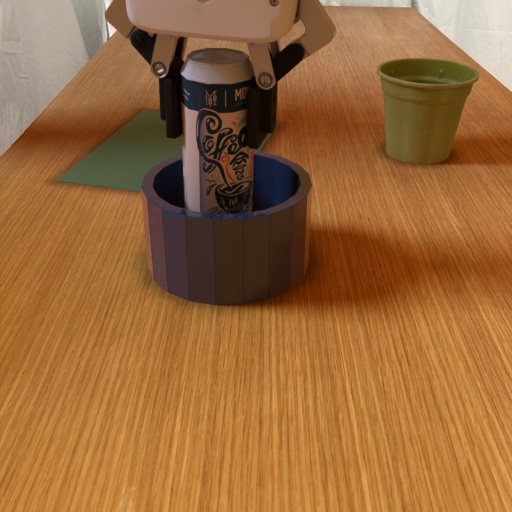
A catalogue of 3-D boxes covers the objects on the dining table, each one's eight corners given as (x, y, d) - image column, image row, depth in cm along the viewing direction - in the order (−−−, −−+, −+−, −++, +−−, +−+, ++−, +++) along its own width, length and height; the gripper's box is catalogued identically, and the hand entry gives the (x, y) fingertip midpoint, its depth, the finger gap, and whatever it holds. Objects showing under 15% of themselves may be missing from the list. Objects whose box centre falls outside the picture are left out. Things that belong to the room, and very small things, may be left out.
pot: (123, 296, 48) (112, 206, 44) (181, 220, 57) (177, 141, 54) (287, 323, 45) (291, 229, 42) (320, 239, 55) (325, 157, 51)
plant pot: (351, 146, 71) (358, 62, 67) (427, 134, 75) (439, 53, 70) (402, 182, 64) (414, 89, 60) (484, 166, 67) (501, 77, 63)
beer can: (212, 247, 47) (211, 71, 41) (171, 221, 50) (164, 53, 44) (265, 226, 50) (271, 58, 43) (223, 202, 53) (223, 42, 46)
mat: (56, 186, 63) (55, 180, 62) (143, 115, 79) (143, 110, 79) (225, 207, 59) (225, 201, 59) (279, 128, 76) (279, 123, 76)
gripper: (36, -193, 35) (75, 141, 45) (368, -185, 32) (334, 176, 41) (101, -188, 42) (124, 104, 51) (385, -181, 38) (352, 132, 48)
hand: (218, 133), depth 46 cm, fingers closed on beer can, 4 cm apart
